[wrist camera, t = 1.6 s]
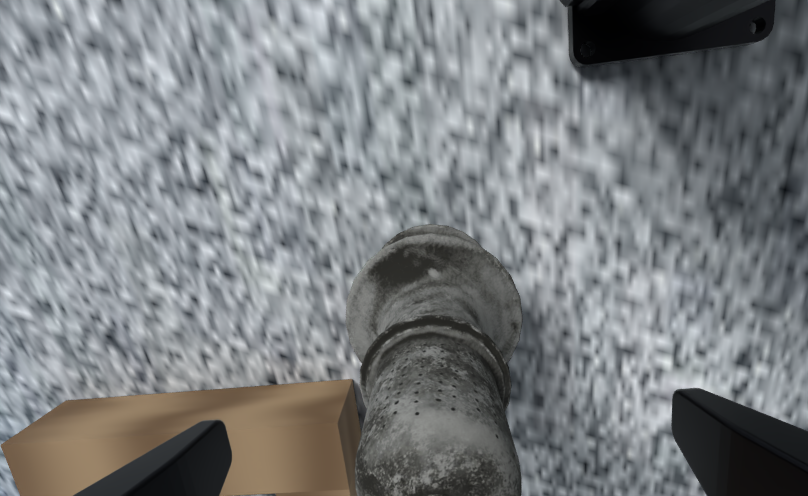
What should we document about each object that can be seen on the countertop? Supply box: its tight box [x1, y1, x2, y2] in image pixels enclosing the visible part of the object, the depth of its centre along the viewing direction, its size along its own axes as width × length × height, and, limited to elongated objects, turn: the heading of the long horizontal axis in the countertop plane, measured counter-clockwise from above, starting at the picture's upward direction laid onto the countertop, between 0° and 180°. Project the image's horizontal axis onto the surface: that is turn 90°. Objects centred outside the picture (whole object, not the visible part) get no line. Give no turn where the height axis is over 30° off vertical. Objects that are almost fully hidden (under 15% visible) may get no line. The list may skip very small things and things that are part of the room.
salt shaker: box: [346, 224, 523, 496], centre depth 11 cm, size 6×6×12 cm
